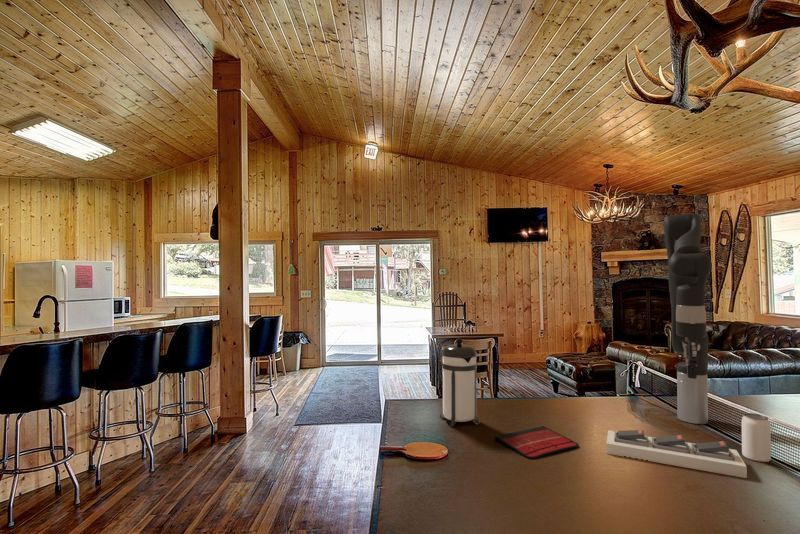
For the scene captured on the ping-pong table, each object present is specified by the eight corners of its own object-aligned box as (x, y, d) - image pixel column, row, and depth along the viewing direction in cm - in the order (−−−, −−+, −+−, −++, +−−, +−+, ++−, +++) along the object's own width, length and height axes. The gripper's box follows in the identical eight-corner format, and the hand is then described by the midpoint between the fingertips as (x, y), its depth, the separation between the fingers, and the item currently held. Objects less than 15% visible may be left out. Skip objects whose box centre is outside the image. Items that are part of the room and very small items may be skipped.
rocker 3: (697, 447, 124) (695, 443, 124) (726, 445, 121) (724, 440, 121) (699, 453, 120) (697, 448, 120) (729, 450, 117) (727, 445, 117)
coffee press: (487, 418, 159) (487, 336, 159) (470, 431, 145) (470, 342, 146) (445, 410, 168) (445, 333, 169) (425, 422, 155) (425, 338, 155)
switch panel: (608, 439, 138) (608, 427, 138) (736, 460, 123) (736, 447, 123) (606, 453, 128) (606, 440, 128) (746, 478, 112) (746, 463, 112)
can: (776, 463, 121) (775, 420, 121) (750, 461, 122) (749, 419, 122) (762, 454, 127) (761, 413, 127) (737, 452, 128) (736, 412, 129)
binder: (494, 435, 137) (542, 425, 147) (494, 442, 137) (542, 431, 147) (530, 456, 123) (582, 443, 132) (530, 464, 123) (581, 451, 132)
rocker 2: (656, 441, 129) (655, 436, 129) (683, 438, 126) (682, 434, 126) (657, 446, 125) (656, 442, 125) (685, 444, 122) (683, 439, 122)
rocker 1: (619, 434, 133) (618, 430, 134) (644, 433, 130) (643, 429, 130) (618, 439, 129) (617, 435, 130) (644, 438, 126) (643, 434, 126)
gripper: (673, 317, 136) (674, 371, 136) (678, 322, 124) (680, 382, 125) (701, 317, 133) (703, 373, 133) (710, 323, 121) (711, 385, 121)
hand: (691, 377), depth 129 cm, fingers closed
